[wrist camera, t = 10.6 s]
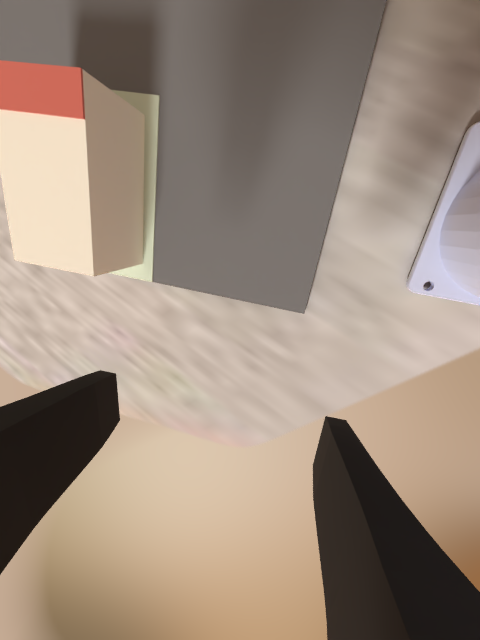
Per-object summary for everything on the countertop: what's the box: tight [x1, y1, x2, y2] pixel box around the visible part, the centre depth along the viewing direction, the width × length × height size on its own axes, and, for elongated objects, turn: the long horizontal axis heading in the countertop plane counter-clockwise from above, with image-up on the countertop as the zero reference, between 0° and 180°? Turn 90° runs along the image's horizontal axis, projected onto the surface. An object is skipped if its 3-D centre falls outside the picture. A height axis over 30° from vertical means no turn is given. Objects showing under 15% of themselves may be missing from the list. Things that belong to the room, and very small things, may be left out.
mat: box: [0, 0, 387, 314], centre depth 15 cm, size 20×15×1 cm
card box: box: [0, 60, 145, 276], centre depth 14 cm, size 8×4×5 cm, turn 171°
